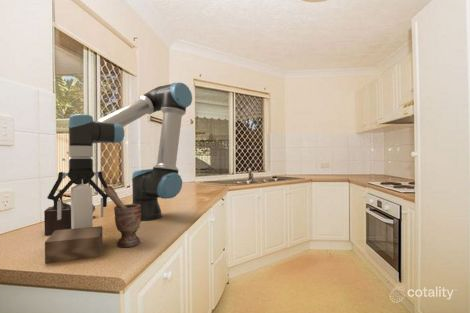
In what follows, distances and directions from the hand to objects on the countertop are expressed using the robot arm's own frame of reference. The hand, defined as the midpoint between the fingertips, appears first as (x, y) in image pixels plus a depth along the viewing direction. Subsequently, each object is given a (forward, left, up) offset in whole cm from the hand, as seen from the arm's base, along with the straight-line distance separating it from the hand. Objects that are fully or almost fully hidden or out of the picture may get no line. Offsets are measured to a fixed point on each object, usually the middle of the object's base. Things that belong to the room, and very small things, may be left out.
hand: (81, 217), depth 105 cm
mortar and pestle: (-14, +11, -8) cm, 20 cm away
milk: (0, 0, -8) cm, 8 cm away
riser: (0, +14, -8) cm, 16 cm away
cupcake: (+3, -41, -8) cm, 42 cm away
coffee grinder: (+7, -18, -8) cm, 21 cm away
